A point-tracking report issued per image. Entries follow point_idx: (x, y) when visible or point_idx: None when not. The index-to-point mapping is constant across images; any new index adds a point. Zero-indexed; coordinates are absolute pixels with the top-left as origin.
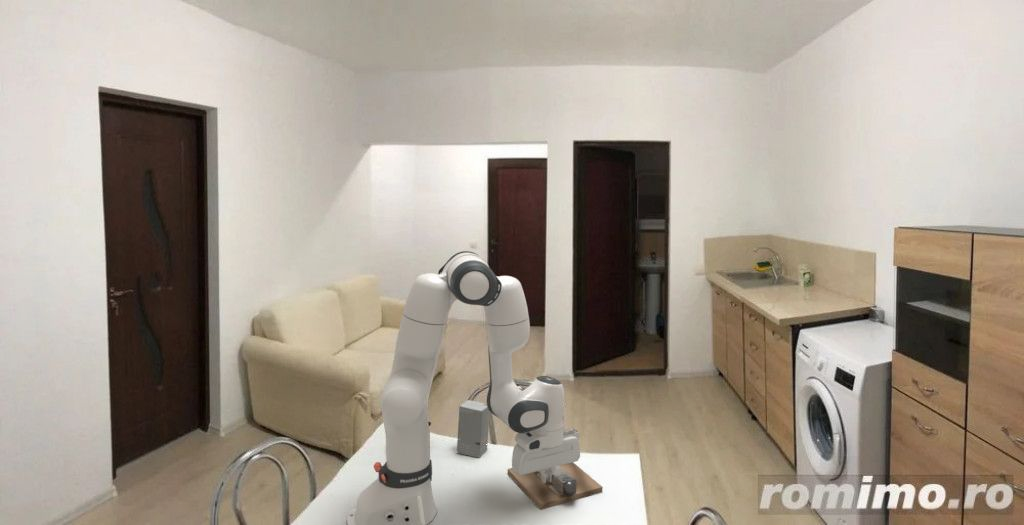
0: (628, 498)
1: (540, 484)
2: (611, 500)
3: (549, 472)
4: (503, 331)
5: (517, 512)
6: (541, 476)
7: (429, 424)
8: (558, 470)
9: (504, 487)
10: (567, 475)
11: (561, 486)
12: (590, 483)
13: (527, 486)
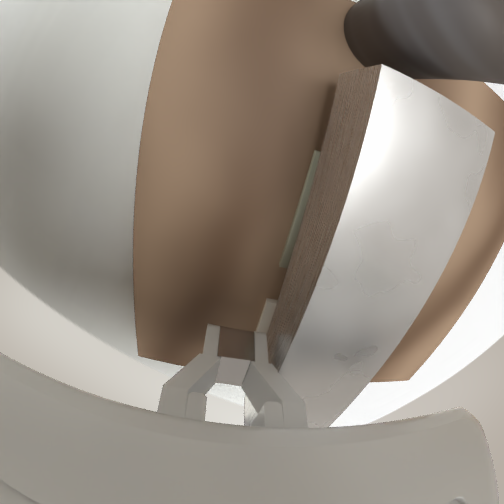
0: (404, 398)
1: (240, 257)
2: (374, 395)
3: (255, 392)
4: None
5: (62, 299)
6: (203, 349)
7: None
8: (332, 388)
9: (80, 105)
10: (318, 423)
11: (246, 414)
12: (410, 357)
13: (153, 226)
